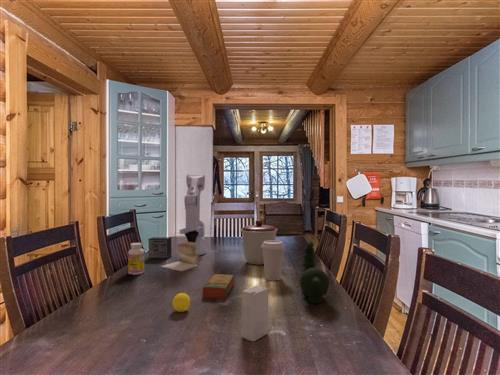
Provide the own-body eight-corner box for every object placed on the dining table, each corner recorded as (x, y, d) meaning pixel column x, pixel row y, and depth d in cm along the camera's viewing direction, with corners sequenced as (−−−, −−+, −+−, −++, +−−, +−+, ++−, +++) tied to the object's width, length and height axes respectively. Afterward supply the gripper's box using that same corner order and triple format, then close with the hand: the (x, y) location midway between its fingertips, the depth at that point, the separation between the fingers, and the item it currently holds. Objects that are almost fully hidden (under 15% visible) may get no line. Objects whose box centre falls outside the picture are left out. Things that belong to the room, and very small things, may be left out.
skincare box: (255, 329, 89) (255, 284, 89) (269, 334, 86) (269, 287, 86) (240, 337, 85) (240, 290, 84) (254, 343, 82) (254, 294, 81)
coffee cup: (287, 276, 139) (287, 241, 138) (280, 283, 130) (280, 244, 130) (266, 274, 143) (266, 239, 142) (257, 280, 134) (257, 243, 134)
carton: (234, 285, 129) (234, 274, 128) (226, 300, 113) (226, 287, 112) (212, 284, 130) (213, 273, 129) (202, 298, 114) (202, 286, 113)
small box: (172, 256, 177) (172, 236, 177) (167, 259, 170) (167, 239, 170) (153, 256, 178) (152, 236, 178) (148, 259, 172) (147, 238, 171)
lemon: (190, 315, 100) (189, 299, 99) (171, 316, 99) (171, 299, 98) (191, 304, 107) (190, 288, 106) (173, 305, 106) (173, 289, 105)
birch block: (188, 258, 166) (183, 240, 163) (200, 260, 162) (195, 242, 159) (182, 263, 163) (177, 245, 160) (194, 265, 158) (189, 246, 155)
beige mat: (178, 262, 164) (178, 261, 164) (198, 266, 157) (198, 264, 157) (160, 267, 154) (160, 266, 154) (181, 271, 147) (181, 270, 147)
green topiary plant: (296, 290, 127) (302, 309, 102) (296, 240, 128) (301, 246, 103) (321, 290, 126) (333, 309, 101) (320, 240, 128) (332, 247, 103)
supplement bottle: (124, 273, 143) (124, 244, 143) (136, 270, 149) (136, 241, 149) (136, 275, 140) (135, 245, 140) (147, 272, 146) (147, 243, 146)
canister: (234, 265, 158) (234, 221, 158) (248, 257, 175) (248, 217, 175) (270, 268, 152) (270, 222, 151) (282, 260, 168) (282, 218, 168)
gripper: (187, 221, 154) (187, 250, 154) (207, 218, 166) (207, 245, 166) (176, 220, 158) (176, 248, 158) (197, 217, 170) (197, 243, 170)
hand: (191, 246), depth 162 cm, fingers closed
